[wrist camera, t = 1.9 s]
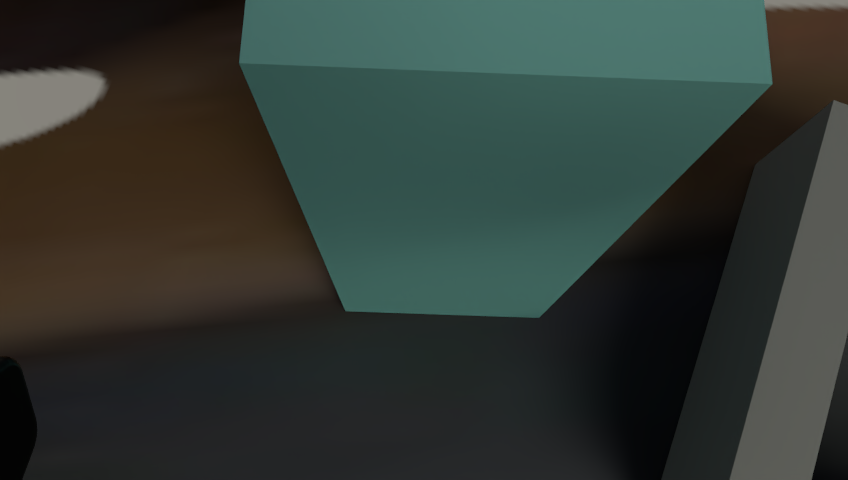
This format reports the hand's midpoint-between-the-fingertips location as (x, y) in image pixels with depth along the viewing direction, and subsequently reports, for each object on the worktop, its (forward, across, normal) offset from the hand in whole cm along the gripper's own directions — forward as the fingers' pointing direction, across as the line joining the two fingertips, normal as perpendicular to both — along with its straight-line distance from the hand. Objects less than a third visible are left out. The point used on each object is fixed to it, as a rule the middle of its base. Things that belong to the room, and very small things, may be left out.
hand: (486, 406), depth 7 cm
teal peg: (+12, 0, +5) cm, 13 cm away
